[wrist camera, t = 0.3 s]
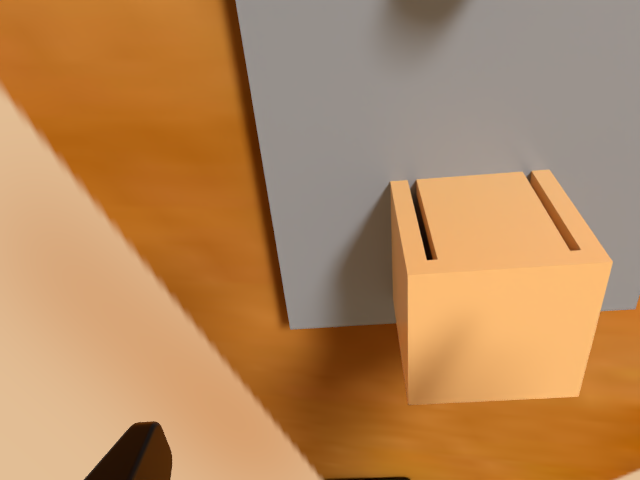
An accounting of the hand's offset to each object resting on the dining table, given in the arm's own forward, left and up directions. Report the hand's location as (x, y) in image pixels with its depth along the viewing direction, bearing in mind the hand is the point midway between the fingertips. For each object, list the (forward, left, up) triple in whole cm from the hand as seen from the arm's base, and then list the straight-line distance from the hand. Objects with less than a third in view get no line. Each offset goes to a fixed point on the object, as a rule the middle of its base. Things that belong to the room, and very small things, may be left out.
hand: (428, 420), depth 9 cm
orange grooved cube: (-5, -3, -11) cm, 13 cm away
